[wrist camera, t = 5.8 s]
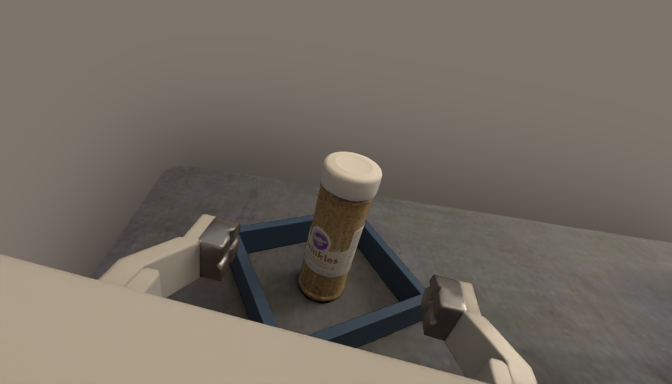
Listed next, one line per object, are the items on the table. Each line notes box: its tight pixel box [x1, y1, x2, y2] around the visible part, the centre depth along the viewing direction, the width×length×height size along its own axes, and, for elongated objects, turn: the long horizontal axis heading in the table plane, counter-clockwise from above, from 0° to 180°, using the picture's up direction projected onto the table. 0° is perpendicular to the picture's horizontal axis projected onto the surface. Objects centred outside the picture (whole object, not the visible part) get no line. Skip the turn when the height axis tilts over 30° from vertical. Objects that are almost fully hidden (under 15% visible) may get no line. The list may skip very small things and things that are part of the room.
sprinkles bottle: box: [298, 152, 382, 302], centre depth 28 cm, size 5×5×14 cm
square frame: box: [230, 214, 425, 348], centre depth 31 cm, size 15×14×3 cm
